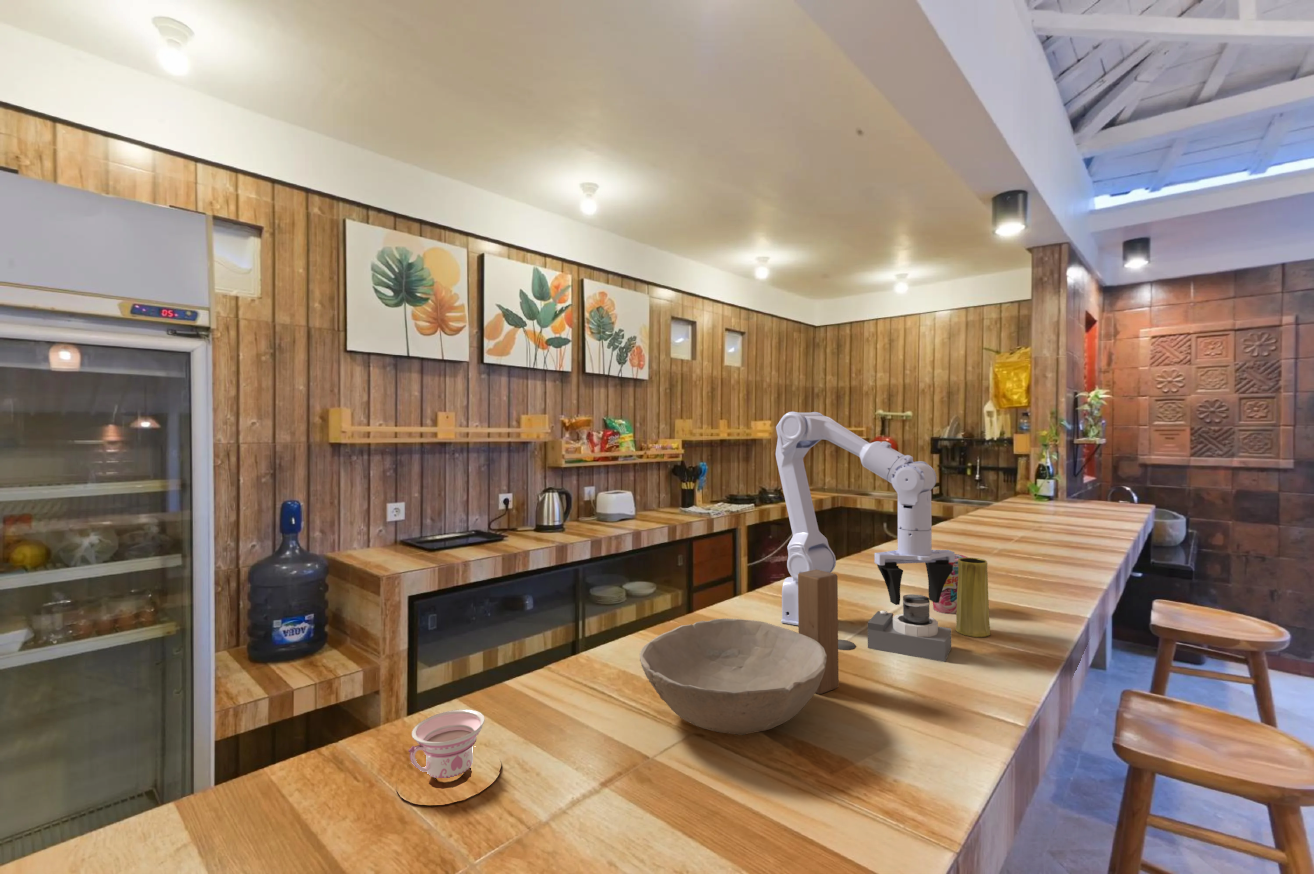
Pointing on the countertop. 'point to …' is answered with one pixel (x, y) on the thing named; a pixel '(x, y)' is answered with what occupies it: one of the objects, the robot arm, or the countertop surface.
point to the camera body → (908, 637)
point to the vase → (972, 598)
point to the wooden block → (820, 619)
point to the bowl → (734, 673)
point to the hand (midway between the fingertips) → (914, 602)
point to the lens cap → (845, 645)
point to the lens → (916, 609)
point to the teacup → (447, 742)
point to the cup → (949, 591)
